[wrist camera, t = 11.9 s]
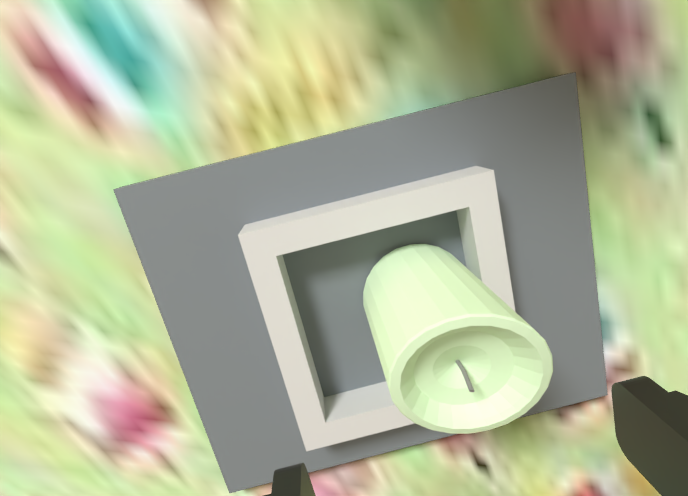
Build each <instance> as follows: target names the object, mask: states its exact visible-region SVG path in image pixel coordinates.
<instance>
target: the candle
mask: <svg viewBox="0 0 688 496" xmlns="http://www.w3.org/2000/svg"><path fill="white" fill-rule="evenodd" d="M363 306H364V309H365V312H366V316H367V319H368V322H369V326H370V329H371V332H372V335H373V339H374V342H375V345H376V349H377V352H378V355H379V359H380V362H381V365H382V369H383V372H384V375H385V378H386V382H387V385H388V388H389V392H390V395H391V398H392V401H393V403H394V404H395V405H396V407H397V408H398V409H399V411H400V412H401V413H402V414H403V415H404V416H406V417H407V418H408V419H410V420H411V421H412V422H414V423H416V424H418V425H420V426H423V427H425V428H428V429H430V430H434V431H439V432H445V433H450V434H470V433H476V432H482V431H488V430H491V429H494V428H497V427H500V426H503V425H505V424H508V423H510V422H511V421H513V420H515V419H517V418H518V417H520V416H522V415H524V414H525V413H526V412H527V411H528V410H529V409H531V408H532V407H533V406H534V405H535V404H536V403H537V402H538V401H539V400H540V398H541V397H542V395H543V394H544V392H545V391H546V389H547V388H548V386H549V383H550V380H551V376H552V373H553V358H552V353H551V351H550V349H549V347H548V345H547V343H546V340H545V339H544V338H543V337H542V336H541V335H540V334H539V333H538V332H537V331H536V330H535V329H534V328H532V327H531V326H530V325H529V324H528V323H527V322H526V321H525V320H524V319H523V318H521V317H520V316H519V315H518V314H517V313H516V312H515V311H514V310H513V309H512V308H510V307H509V306H508V305H507V304H506V303H505V302H504V301H503V300H502V299H500V298H499V297H498V296H497V295H496V294H495V293H494V292H493V291H492V290H491V289H489V288H488V287H487V286H486V285H485V284H484V283H483V282H482V281H481V280H479V279H478V278H477V277H476V276H475V275H474V274H473V273H472V272H471V271H470V270H468V269H467V268H466V267H465V266H464V265H463V264H462V263H461V262H460V261H459V260H457V259H456V258H455V257H454V256H453V255H452V254H451V253H449V252H447V251H445V250H444V249H442V248H440V247H437V246H433V245H428V244H410V245H406V246H403V247H400V248H396V249H395V250H393V251H391V252H390V253H388V254H386V255H385V256H383V257H382V258H381V259H380V260H379V261H378V263H377V264H376V265H375V266H374V267H373V268H372V270H371V272H370V274H369V275H368V277H367V279H366V283H365V287H364V291H363Z"/></svg>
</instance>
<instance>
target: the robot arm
mask: <svg viewBox="0 0 688 496" xmlns="http://www.w3.org/2000/svg"><path fill="white" fill-rule="evenodd" d="M612 401H613V411H614V421H615V431H616V437H617V440H618V443H619V445H620V447H621V449H622V451H623V453H624V454H625V456H626V457H627V459H628V460H629V461H630V462H631V463H632V464H633V465H634V466H635V468H636V469H637V470H638V471H639V472H640V473H641V474H642V475H643V476H644V477H645V478H646V479H647V480H648V481H649V483H650V484H651V485H652V486H653V487H654V488H655V489H656V490H657V491H658V492H659V493H660V494H661V495H662V496H688V395H685V394H683V393H680V392H678V391H673V392H669V393H668V392H667V391H666V390H665V389H663V388H662V387H661V386H659V385H658V384H657V383H655V382H654V381H653V380H651V379H650V378H648V377H646V376H641V377H637V378H633V379H629V380H626V381H622V382H618V383H614V384H613V386H612ZM264 496H315V493H314V490H313V487H312V484H311V481H310V478H309V475H308V472H307V469H306V466H305V464H304V463H299V464H296V465H292V466H288V467H284V468H280V469H276V470H275V471H274V475H273V484H272V493H271V494H268V495H264Z"/></svg>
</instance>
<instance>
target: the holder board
mask: <svg viewBox="0 0 688 496" xmlns="http://www.w3.org/2000/svg"><path fill="white" fill-rule="evenodd" d="M114 193H115V195H116V198H117V200H118V203H119V206H120V208H121V211H122V213H123V216H124V219H125V221H126V224H127V227H128V229H129V232H130V234H131V237H132V240H133V242H134V245H135V247H136V250H137V253H138V255H139V258H140V260H141V263H142V266H143V268H144V271H145V274H146V276H147V279H148V281H149V284H150V287H151V289H152V292H153V294H154V297H155V300H156V302H157V305H158V308H159V310H160V313H161V315H162V318H163V321H164V323H165V326H166V328H167V331H168V334H169V336H170V339H171V341H172V344H173V347H174V349H175V352H176V355H177V357H178V360H179V362H180V365H181V368H182V370H183V373H184V375H185V378H186V381H187V383H188V386H189V389H190V391H191V394H192V396H193V399H194V402H195V404H196V407H197V409H198V412H199V415H200V417H201V420H202V423H203V425H204V428H205V430H206V433H207V436H208V438H209V441H210V443H211V446H212V449H213V451H214V454H215V456H216V459H217V462H218V464H219V467H220V470H221V472H222V475H223V477H224V480H225V483H226V485H227V488H228V490H229V493H232V492H236V491H240V490H244V489H248V488H251V487H255V486H259V485H263V484H267V483H271V482H273V475H274V471H275V470H276V469H280V468H284V467H288V466H292V465H296V464H299V463H304V464H305V466H306V469H307V472H308V473H309V472H313V471H317V470H321V469H325V468H328V467H332V466H336V465H340V464H344V463H348V462H352V461H355V460H359V459H363V458H367V457H371V456H375V455H379V454H382V453H386V452H390V451H394V450H398V449H402V448H405V447H409V446H413V445H417V444H421V443H425V442H429V441H432V440H436V439H440V438H444V437H448V436H452V435H456V434H450V433H445V432H439V431H434V430H430V429H428V428H425V427H423V426H420V425H418V424H416V423H414V422H412V421H411V420H410V419H408V418H407V417H406V416H404V415H403V414H402V413H401V412H400V411H399V409H398V408H397V407H396V405H395V404H394V403H393V401H392V398H391V395H390V392H389V388H388V385H387V382H386V378H385V375H384V372H383V369H382V365H381V362H380V359H379V355H378V352H377V349H376V345H375V342H374V339H373V335H372V332H371V329H370V326H369V322H368V319H367V316H366V312H365V309H364V306H363V291H364V287H365V283H366V279H367V277H368V275H369V274H370V272H371V270H372V268H373V267H374V266H375V265H376V264H377V263H378V261H379V260H380V259H381V258H382V257H383V256H385V255H386V254H388V253H390V252H391V251H393V250H395V249H396V248H400V247H403V246H406V245H410V244H428V245H433V246H437V247H440V248H442V249H444V250H445V251H447V252H449V253H451V254H452V255H453V256H454V257H455V258H456V259H457V260H459V261H460V262H461V263H462V264H463V265H464V266H465V267H466V268H467V269H468V270H470V271H471V272H472V273H473V274H474V275H475V276H476V277H477V278H478V279H479V280H481V281H482V282H483V283H484V284H485V285H486V286H487V287H488V288H489V289H491V290H492V291H493V292H494V293H495V294H496V295H497V296H498V297H499V298H500V299H502V300H503V301H504V302H505V303H506V304H507V305H508V306H509V307H510V308H512V309H513V310H514V311H515V312H516V313H517V314H518V315H519V316H520V317H521V318H523V319H524V320H525V321H526V322H527V323H528V324H529V325H530V326H531V327H532V328H534V329H535V330H536V331H537V332H538V333H539V334H540V335H541V336H542V337H543V338H544V339H545V340H546V343H547V345H548V347H549V349H550V351H551V353H552V358H553V373H552V376H551V380H550V383H549V386H548V388H547V389H546V391H545V392H544V394H543V395H542V397H541V398H540V400H539V401H538V402H537V403H536V404H535V405H534V406H533V407H532V408H531V409H529V410H528V411H527V412H526V413H525V414H524V415H522V416H520V417H518V418H521V417H525V416H529V415H533V414H536V413H540V412H544V411H548V410H552V409H556V408H559V407H563V406H567V405H571V404H575V403H579V402H583V401H586V400H590V399H594V398H598V397H602V396H606V395H608V394H607V384H606V374H605V364H604V354H603V344H602V334H601V324H600V313H599V303H598V293H597V283H596V273H595V263H594V253H593V243H592V233H591V223H590V213H589V203H588V192H587V182H586V172H585V162H584V152H583V142H582V132H581V122H580V112H579V102H578V92H577V82H576V72H575V73H570V74H564V75H560V76H556V77H552V78H548V79H544V80H540V81H537V82H533V83H529V84H525V85H521V86H517V87H513V88H509V89H505V90H501V91H497V92H493V93H489V94H485V95H481V96H477V97H473V98H470V99H466V100H462V101H458V102H454V103H450V104H446V105H442V106H438V107H434V108H430V109H426V110H422V111H418V112H414V113H410V114H407V115H403V116H399V117H395V118H391V119H387V120H383V121H379V122H375V123H371V124H367V125H363V126H359V127H355V128H351V129H347V130H343V131H340V132H336V133H332V134H328V135H324V136H320V137H316V138H312V139H308V140H304V141H300V142H296V143H292V144H288V145H284V146H280V147H276V148H273V149H269V150H265V151H261V152H257V153H253V154H249V155H245V156H241V157H237V158H233V159H229V160H225V161H221V162H217V163H213V164H210V165H206V166H202V167H198V168H194V169H190V170H186V171H182V172H178V173H174V174H170V175H166V176H162V177H158V178H154V179H150V180H146V181H143V182H139V183H135V184H131V185H127V186H123V187H120V188H117V189H114Z"/></svg>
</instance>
